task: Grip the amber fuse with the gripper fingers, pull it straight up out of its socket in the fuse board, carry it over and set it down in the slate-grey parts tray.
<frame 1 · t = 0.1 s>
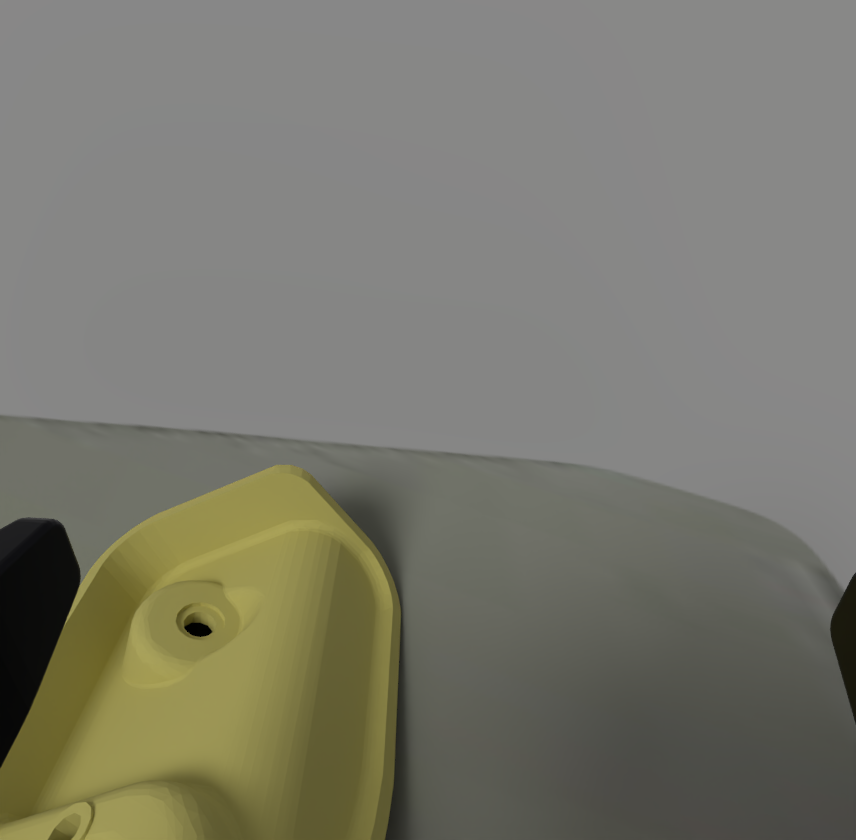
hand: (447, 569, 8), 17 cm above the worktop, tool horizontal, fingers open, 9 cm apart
plastic component: (193, 795, 22), on the worktop
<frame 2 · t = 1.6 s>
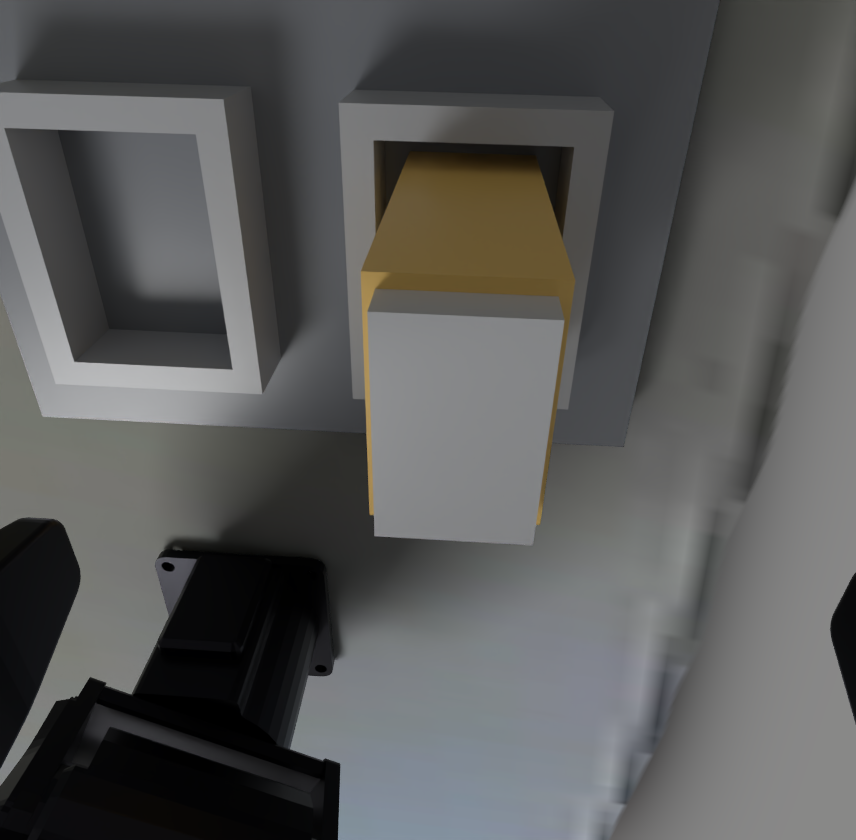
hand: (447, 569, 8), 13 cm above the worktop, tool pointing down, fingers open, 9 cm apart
fuse board: (324, 222, 19), on the worktop
blown fuse: (467, 245, 17), point 1 cm above the worktop, touching fuse board
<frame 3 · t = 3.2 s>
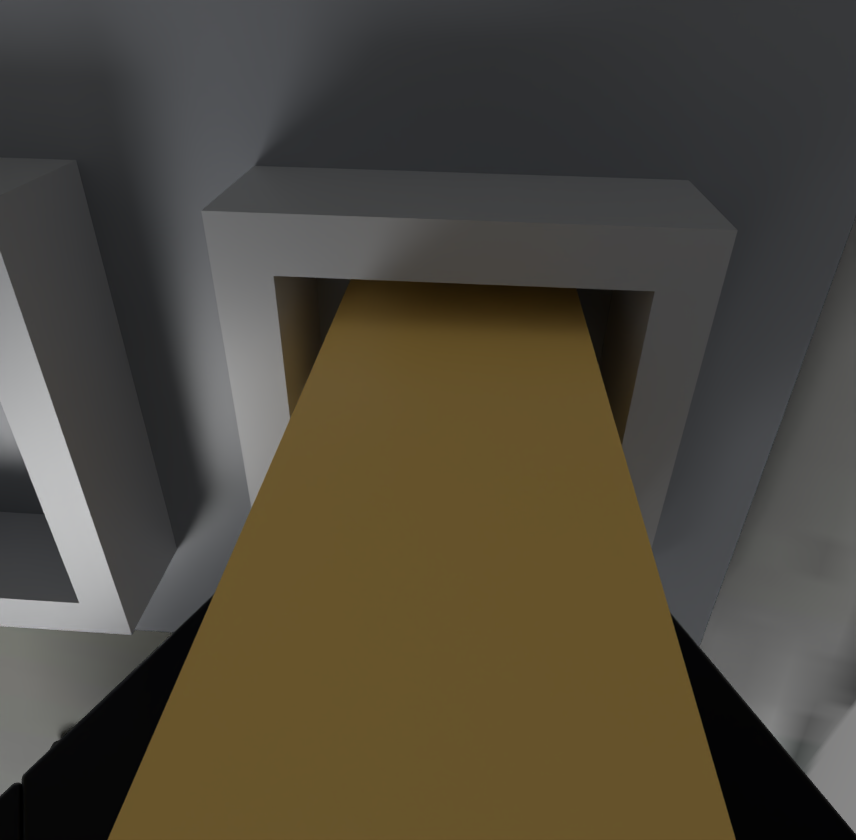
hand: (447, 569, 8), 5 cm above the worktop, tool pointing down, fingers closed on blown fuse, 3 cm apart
fuse board: (236, 349, 12), on the worktop
blown fuse: (457, 405, 11), point 2 cm above the worktop, touching fuse board, gripper
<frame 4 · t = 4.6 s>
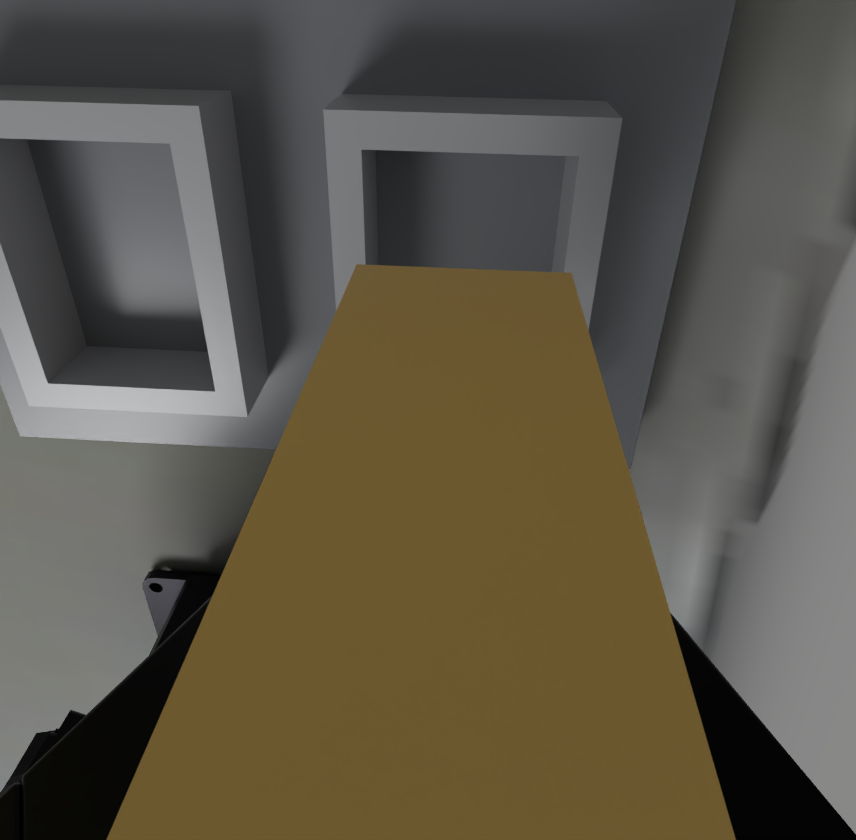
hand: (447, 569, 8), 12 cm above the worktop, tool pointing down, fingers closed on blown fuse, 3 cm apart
fuse board: (313, 233, 18), on the worktop
blown fuse: (456, 404, 11), point 8 cm above the worktop, touching gripper
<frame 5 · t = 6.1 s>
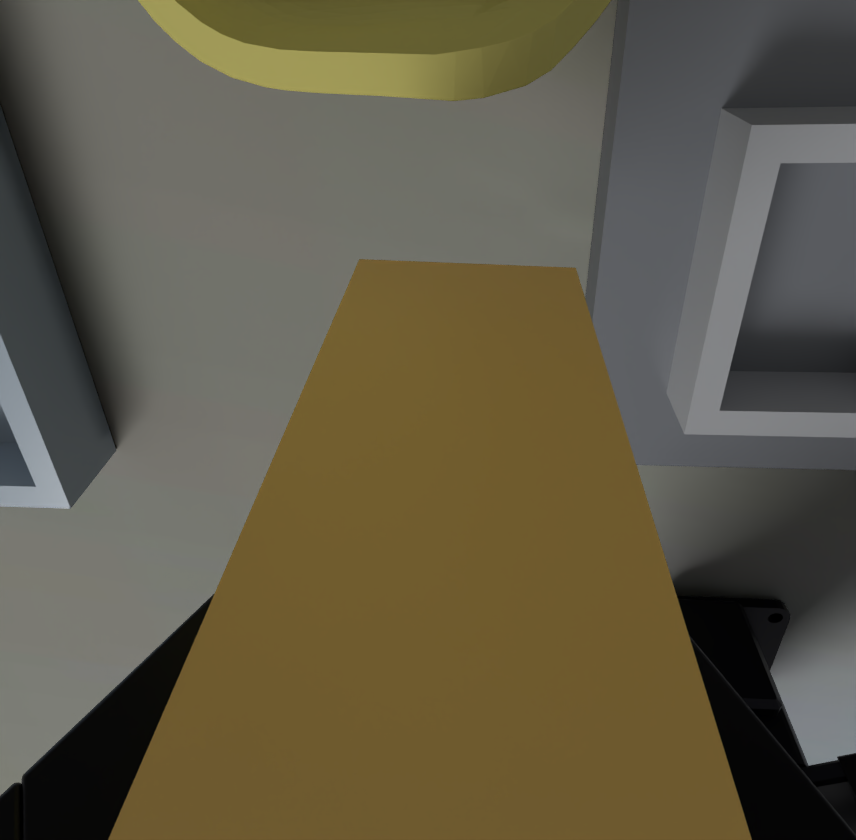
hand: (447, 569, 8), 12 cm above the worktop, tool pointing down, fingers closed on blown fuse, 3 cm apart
blown fuse: (459, 401, 11), point 9 cm above the worktop, touching gripper
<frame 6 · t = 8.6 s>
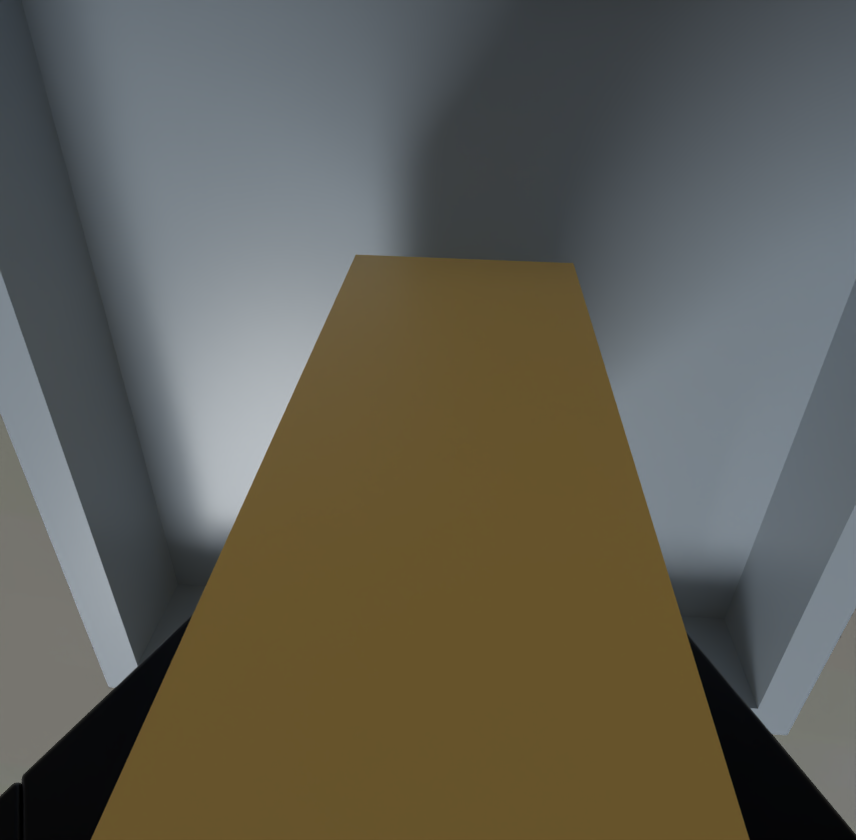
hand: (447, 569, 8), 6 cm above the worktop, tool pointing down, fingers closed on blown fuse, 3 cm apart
parts tray: (458, 339, 13), on the worktop
blown fuse: (457, 397, 11), point 2 cm above the worktop, touching gripper
when the fingers open (6 cm above the worktop, at t = 9.1 s): blown fuse drops 2 cm, resting on parts tray.
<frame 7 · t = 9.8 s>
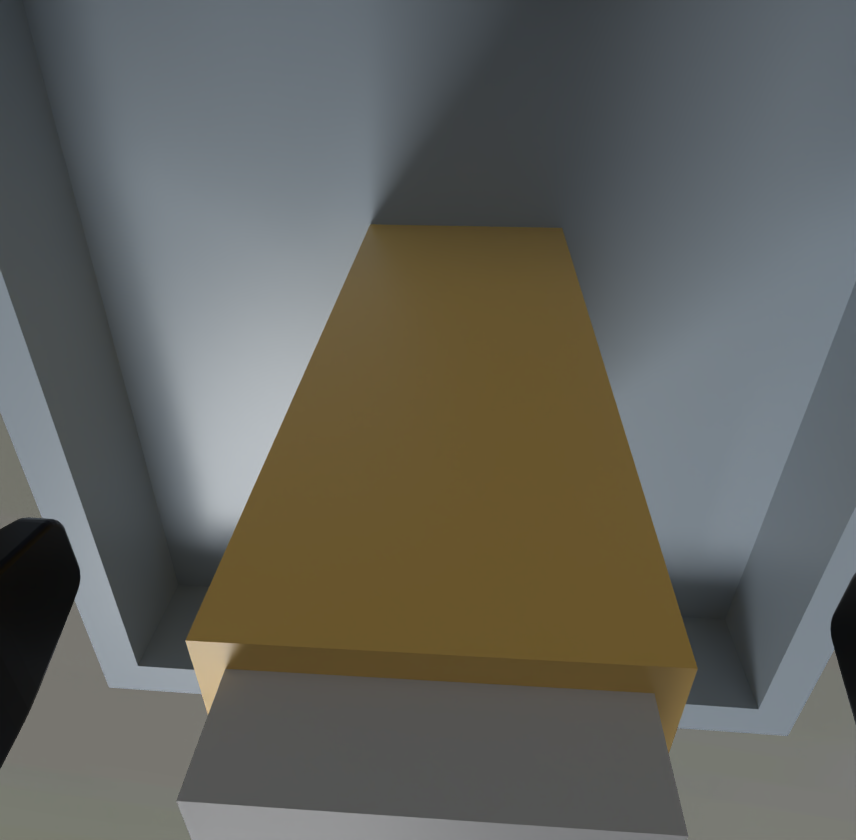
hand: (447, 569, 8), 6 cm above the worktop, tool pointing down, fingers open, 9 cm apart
parts tray: (459, 340, 13), on the worktop
blown fuse: (461, 353, 12), point 1 cm above the worktop, touching parts tray
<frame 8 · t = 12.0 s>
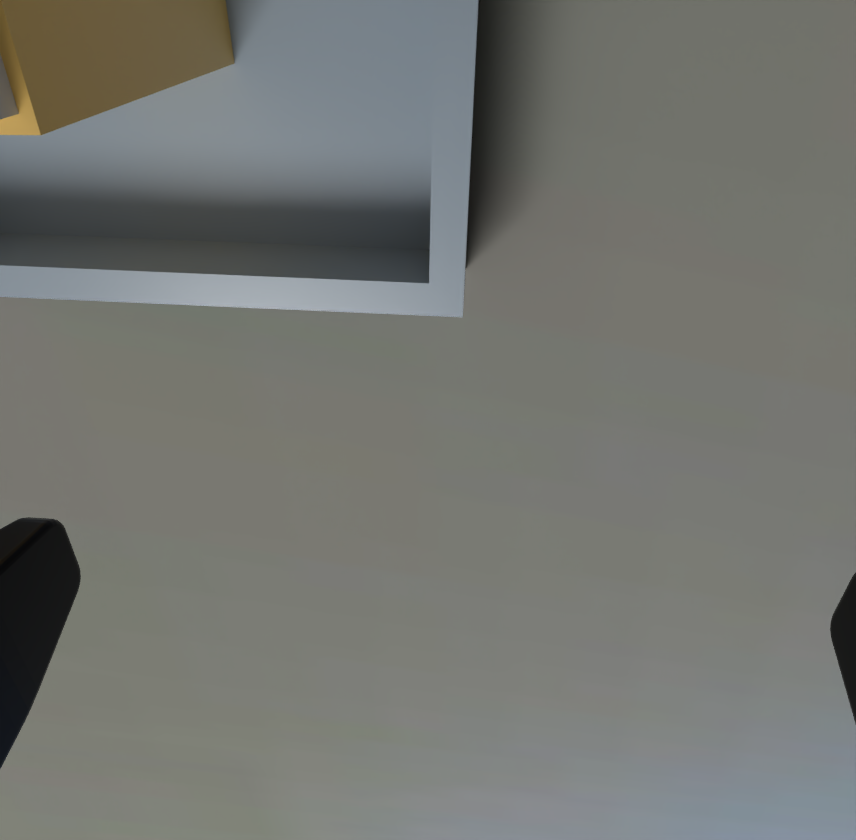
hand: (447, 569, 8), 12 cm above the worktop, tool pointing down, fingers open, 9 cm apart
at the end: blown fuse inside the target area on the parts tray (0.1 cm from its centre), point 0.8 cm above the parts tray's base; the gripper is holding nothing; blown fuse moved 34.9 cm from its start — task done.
